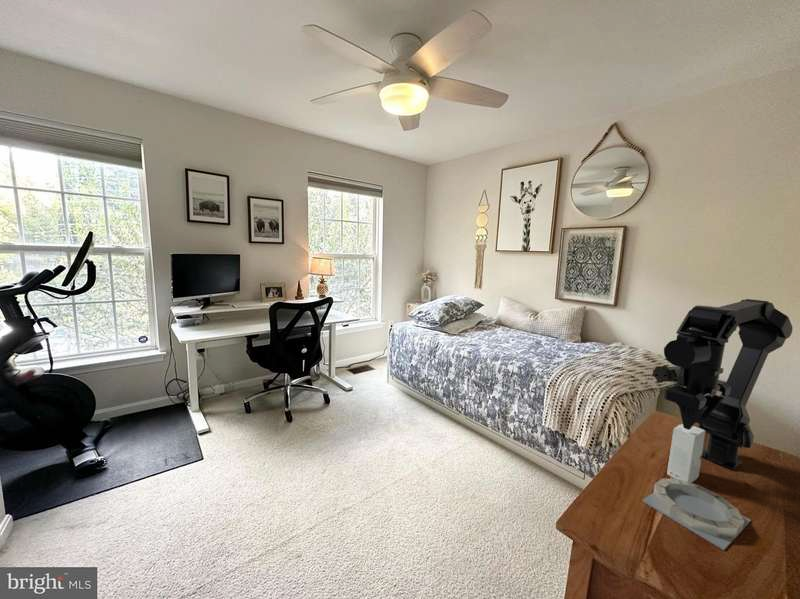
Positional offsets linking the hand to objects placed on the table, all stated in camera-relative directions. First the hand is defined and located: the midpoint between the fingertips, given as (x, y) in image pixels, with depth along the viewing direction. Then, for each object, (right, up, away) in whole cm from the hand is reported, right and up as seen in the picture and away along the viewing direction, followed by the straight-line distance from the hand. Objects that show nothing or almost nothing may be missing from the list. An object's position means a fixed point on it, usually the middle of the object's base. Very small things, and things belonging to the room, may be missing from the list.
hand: (692, 425), depth 76 cm
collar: (-8, -14, -9) cm, 18 cm away
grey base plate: (-8, -14, -9) cm, 18 cm away
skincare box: (-1, -13, +2) cm, 13 cm away
